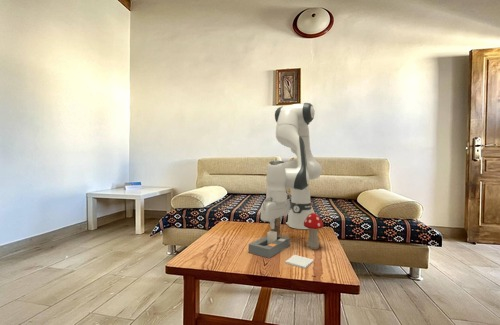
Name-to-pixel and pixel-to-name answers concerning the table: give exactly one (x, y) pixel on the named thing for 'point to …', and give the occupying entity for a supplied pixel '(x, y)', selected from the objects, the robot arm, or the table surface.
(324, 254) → the table surface
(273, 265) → the table surface
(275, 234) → the switch tab
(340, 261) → the table surface
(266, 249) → the switch panel
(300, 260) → the pad
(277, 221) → the brown wooden beam
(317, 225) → the decorative mushroom
